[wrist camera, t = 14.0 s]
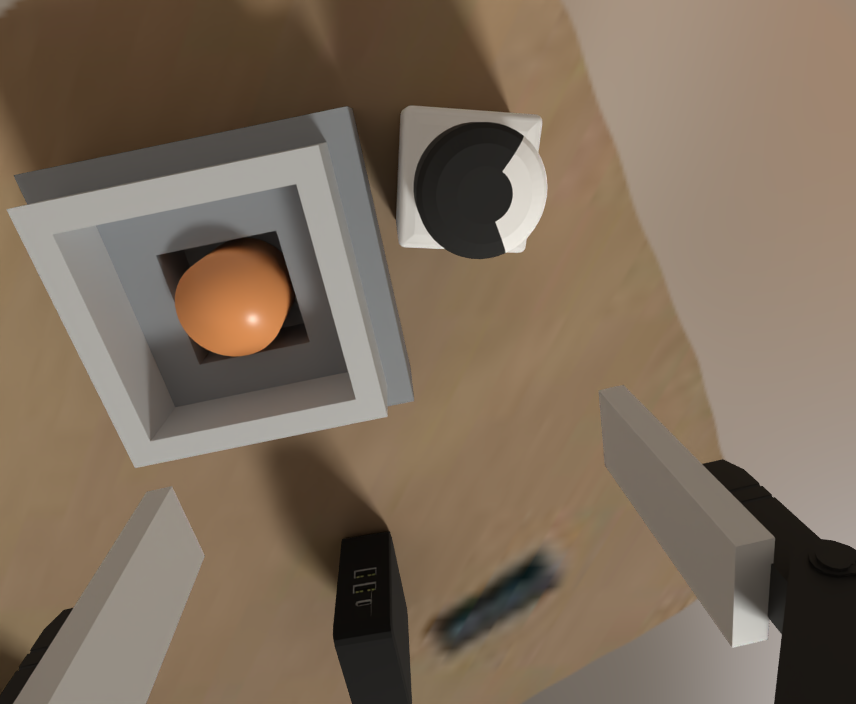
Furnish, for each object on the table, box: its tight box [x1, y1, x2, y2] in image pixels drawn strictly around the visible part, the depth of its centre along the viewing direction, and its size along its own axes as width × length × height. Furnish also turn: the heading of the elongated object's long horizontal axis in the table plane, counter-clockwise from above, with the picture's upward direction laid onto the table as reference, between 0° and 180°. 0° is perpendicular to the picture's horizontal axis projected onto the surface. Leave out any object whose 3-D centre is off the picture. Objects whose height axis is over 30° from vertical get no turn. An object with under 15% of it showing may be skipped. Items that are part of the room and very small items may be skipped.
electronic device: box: [333, 532, 412, 704], centre depth 43 cm, size 4×10×10 cm, turn 8°
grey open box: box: [7, 106, 414, 468], centre depth 32 cm, size 18×18×9 cm
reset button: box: [175, 238, 296, 356], centre depth 33 cm, size 6×6×5 cm
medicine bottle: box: [396, 105, 547, 259], centre depth 29 cm, size 7×7×12 cm
